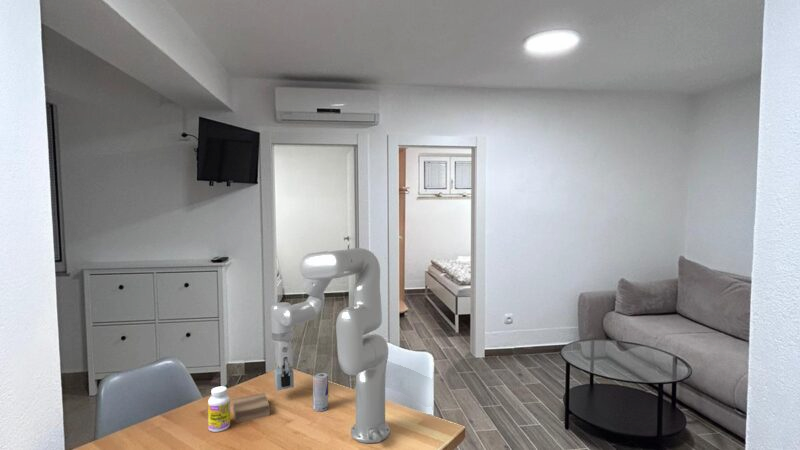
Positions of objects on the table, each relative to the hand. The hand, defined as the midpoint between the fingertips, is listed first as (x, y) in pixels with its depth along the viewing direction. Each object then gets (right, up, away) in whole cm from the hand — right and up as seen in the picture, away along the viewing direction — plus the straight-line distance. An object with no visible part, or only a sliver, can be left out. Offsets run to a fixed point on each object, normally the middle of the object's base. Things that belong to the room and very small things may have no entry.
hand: (284, 382), depth 156 cm
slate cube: (0, -1, 0) cm, 1 cm away
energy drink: (+15, -7, -7) cm, 18 cm away
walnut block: (-9, -7, -10) cm, 15 cm away
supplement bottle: (-16, -7, -20) cm, 26 cm away
